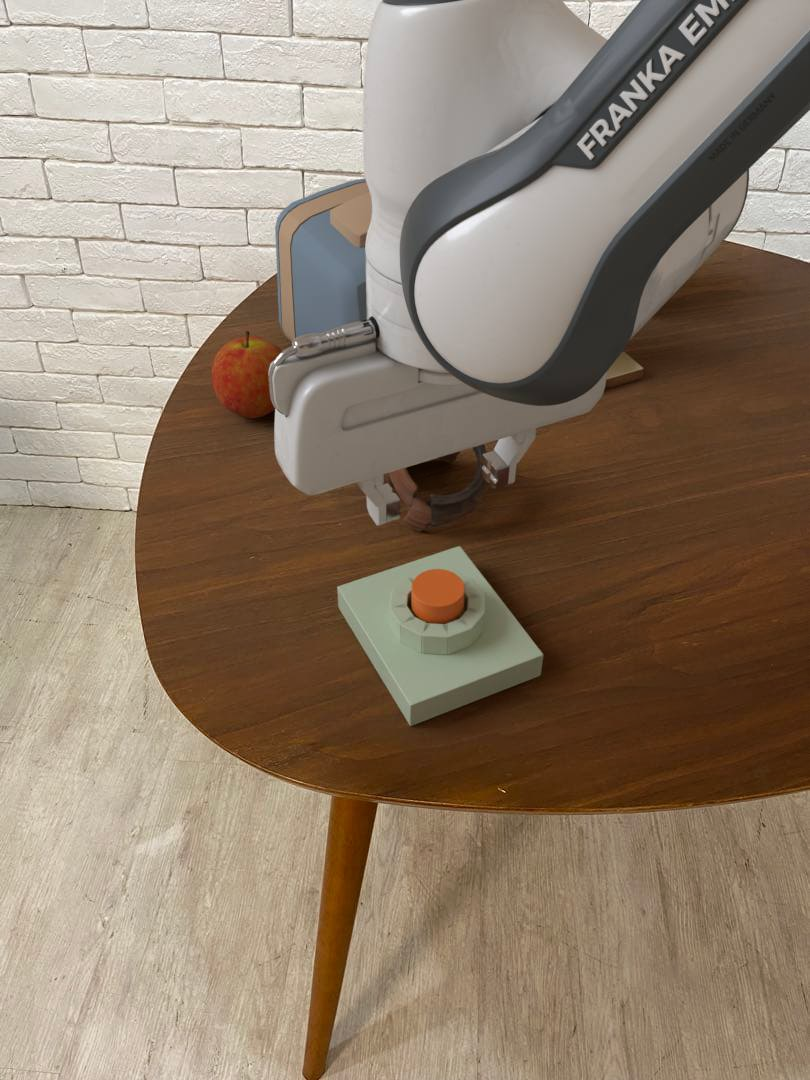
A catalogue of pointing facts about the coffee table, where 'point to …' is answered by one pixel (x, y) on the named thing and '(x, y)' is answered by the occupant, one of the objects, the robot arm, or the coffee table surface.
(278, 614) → the coffee table surface
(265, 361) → the fruit
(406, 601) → the button block
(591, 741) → the coffee table surface
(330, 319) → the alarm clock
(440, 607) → the button
